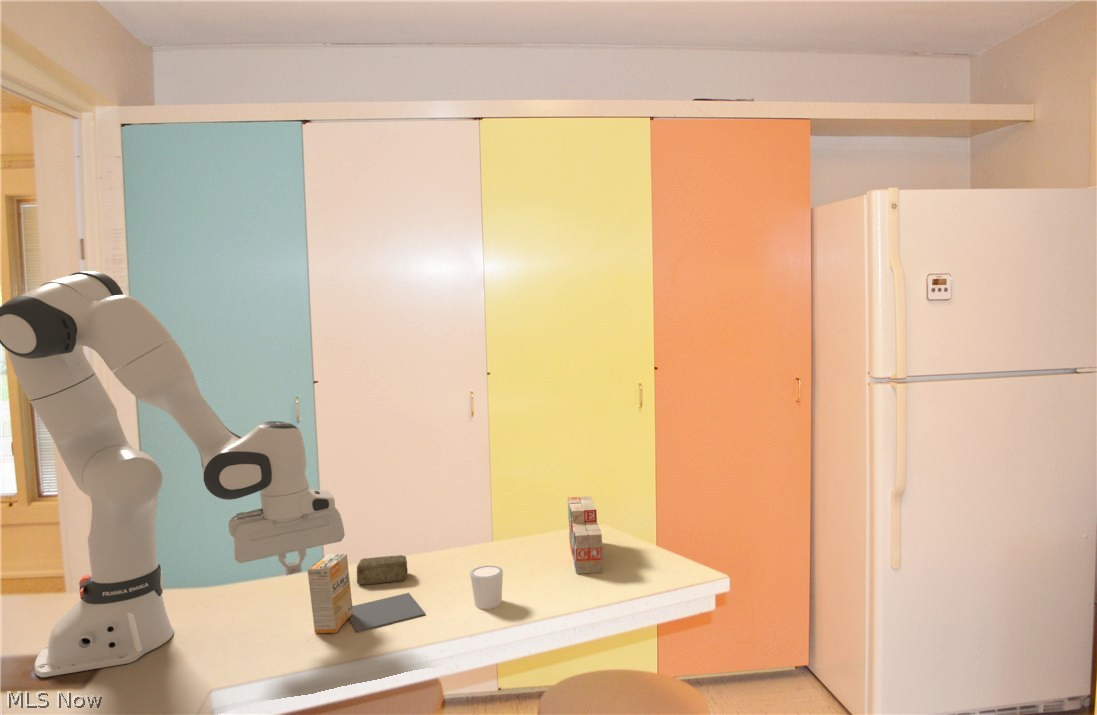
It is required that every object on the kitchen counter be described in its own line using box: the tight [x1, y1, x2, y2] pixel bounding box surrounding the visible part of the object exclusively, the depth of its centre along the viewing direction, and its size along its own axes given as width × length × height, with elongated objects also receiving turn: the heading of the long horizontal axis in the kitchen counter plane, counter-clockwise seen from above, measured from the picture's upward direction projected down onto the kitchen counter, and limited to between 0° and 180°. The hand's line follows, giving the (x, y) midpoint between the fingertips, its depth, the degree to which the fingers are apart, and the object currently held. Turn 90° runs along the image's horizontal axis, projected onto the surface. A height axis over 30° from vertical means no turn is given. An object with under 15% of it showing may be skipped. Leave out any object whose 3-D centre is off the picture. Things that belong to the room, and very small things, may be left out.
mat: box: [348, 592, 426, 633], centre depth 145 cm, size 14×12×1 cm
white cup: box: [469, 565, 504, 610], centre depth 147 cm, size 7×7×7 cm
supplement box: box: [307, 553, 353, 634], centre depth 140 cm, size 8×5×13 cm, turn 171°
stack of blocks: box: [566, 495, 603, 575], centre depth 171 cm, size 21×6×12 cm, turn 3°
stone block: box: [356, 554, 409, 586], centre depth 162 cm, size 6×12×5 cm, turn 99°
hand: (293, 572), depth 136 cm, fingers closed
